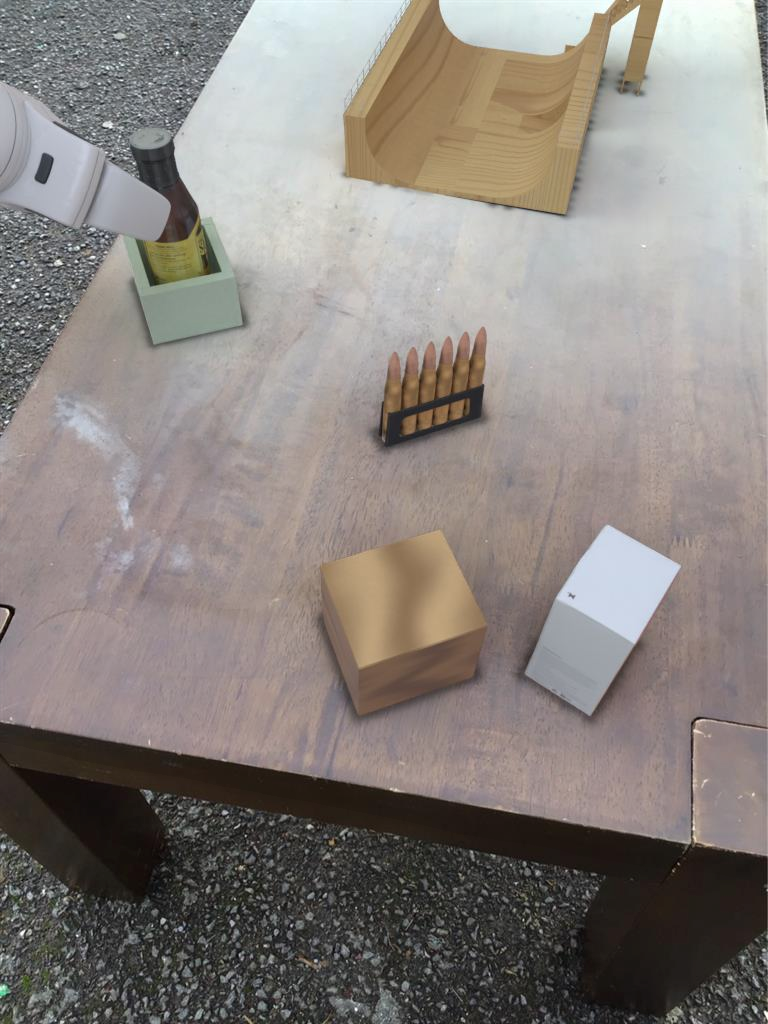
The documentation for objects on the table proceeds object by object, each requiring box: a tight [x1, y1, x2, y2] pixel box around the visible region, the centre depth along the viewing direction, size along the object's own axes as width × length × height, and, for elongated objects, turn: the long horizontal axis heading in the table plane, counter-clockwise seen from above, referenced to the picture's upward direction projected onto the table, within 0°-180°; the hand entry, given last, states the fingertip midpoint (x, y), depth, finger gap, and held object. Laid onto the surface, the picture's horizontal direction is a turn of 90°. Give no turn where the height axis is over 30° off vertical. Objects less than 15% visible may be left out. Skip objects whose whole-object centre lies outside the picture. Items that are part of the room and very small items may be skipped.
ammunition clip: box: [378, 326, 488, 448], centre depth 78 cm, size 11×2×12 cm, turn 114°
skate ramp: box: [342, 0, 664, 215], centre depth 111 cm, size 40×35×16 cm
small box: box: [523, 524, 682, 717], centre depth 63 cm, size 8×6×13 cm
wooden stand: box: [319, 529, 489, 717], centre depth 64 cm, size 10×9×9 cm
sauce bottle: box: [128, 127, 211, 286], centre depth 84 cm, size 6×6×20 cm
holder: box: [121, 216, 244, 346], centre depth 90 cm, size 10×11×7 cm
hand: (125, 199), depth 77 cm, fingers open, 8 cm apart
